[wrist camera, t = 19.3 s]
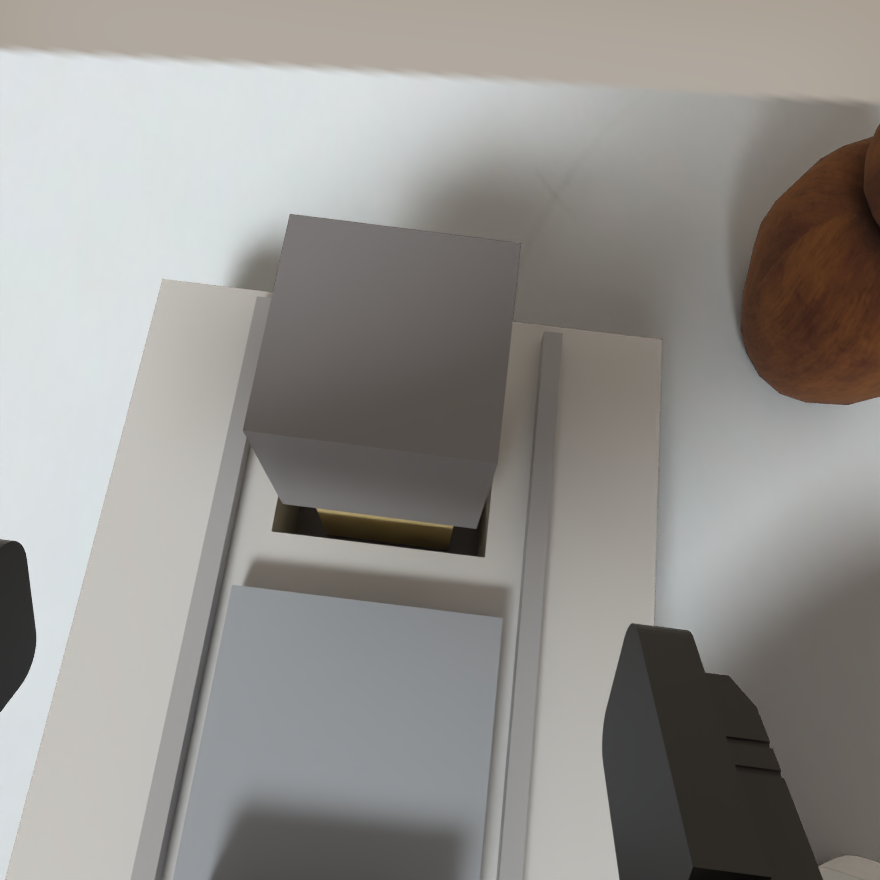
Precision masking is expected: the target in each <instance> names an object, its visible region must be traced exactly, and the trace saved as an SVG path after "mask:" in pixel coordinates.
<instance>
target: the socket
mask: <svg viewBox="0 0 880 880" xmlns="http://www.w3.org/2000/svg"><path fill="white" fill-rule="evenodd" d="M272 293H273V292H266V291H258V290H250V289H241V288H233V287H225V286H216V285H208V284H200V283H192V282H183V281H175V280H167V279H162V283H161V287H160V290H159V294H158V298H157V302H156V306H155V309H154V313H153V317H152V321H151V325H150V328H149V332H148V336H147V340H146V344H145V348H144V351H143V355H142V359H141V363H140V367H139V370H138V374H137V378H136V382H135V386H134V389H133V393H132V397H131V401H130V405H129V409H128V412H127V416H126V420H125V424H124V428H123V431H122V435H121V439H120V443H119V447H118V450H117V454H116V458H115V462H114V466H113V470H112V473H111V477H110V481H109V485H108V489H107V492H106V496H105V500H104V504H103V508H102V511H101V515H100V519H99V523H98V527H97V531H96V534H95V538H94V542H93V546H92V550H91V553H90V557H89V561H88V565H87V569H86V573H85V576H84V580H83V584H82V588H81V592H80V595H79V599H78V603H77V607H76V611H75V614H74V618H73V622H72V626H71V630H70V634H69V637H68V641H67V645H66V649H65V653H64V656H63V660H62V664H61V668H60V672H59V675H58V679H57V683H56V687H55V691H54V695H53V698H52V702H51V706H50V710H49V714H48V717H47V721H46V725H45V729H44V733H43V736H42V740H41V744H40V748H39V752H38V756H37V759H36V763H35V767H34V771H33V775H32V778H31V782H30V786H29V790H28V794H27V797H26V801H25V805H24V809H23V813H22V817H21V820H20V824H19V828H18V832H17V836H16V839H15V843H14V847H13V851H12V855H11V858H10V862H9V866H8V870H7V874H6V878H5V880H173V876H174V871H175V866H176V861H177V856H178V851H179V846H180V841H181V836H182V831H183V826H184V821H185V816H186V811H187V806H188V801H189V796H190V791H191V786H192V781H193V776H194V771H195V766H196V761H197V756H198V751H199V746H200V741H201V736H202V731H203V726H204V721H205V717H206V712H207V707H208V702H209V697H210V692H211V687H212V682H213V677H214V672H215V667H216V662H217V657H218V652H219V647H220V642H221V637H222V632H223V627H224V622H225V617H226V612H227V607H228V602H229V597H230V592H231V587H232V585H238V586H246V587H255V588H263V589H271V590H279V591H287V592H295V593H303V594H312V595H320V596H328V597H336V598H344V599H352V600H360V601H369V602H377V603H385V604H393V605H401V606H409V607H417V608H426V609H434V610H442V611H450V612H458V613H466V614H474V615H482V616H491V617H499V618H503V624H502V635H501V646H500V657H499V668H498V679H497V691H496V702H495V713H494V724H493V735H492V746H491V758H490V769H489V780H488V791H487V802H486V814H485V825H484V836H483V847H482V858H481V869H480V880H619V873H618V866H617V859H616V852H615V845H614V838H613V831H612V824H611V817H610V810H609V802H608V795H607V788H606V781H605V774H604V767H603V759H602V734H603V724H604V717H605V712H606V707H607V704H608V700H609V696H610V692H611V688H612V684H613V680H614V676H615V672H616V668H617V664H618V661H619V657H620V653H621V649H622V645H623V641H624V637H625V634H626V631H627V629H628V627H629V625H630V624H632V623H635V624H642V625H650V626H654V613H655V578H656V543H657V508H658V473H659V437H660V402H661V367H662V339H655V338H647V337H638V336H630V335H622V334H614V333H605V332H597V331H589V330H581V329H572V328H564V327H556V326H547V325H539V324H531V323H523V322H514V321H513V324H512V333H511V343H510V352H509V362H508V371H507V381H506V390H505V400H504V409H503V419H502V428H501V438H500V447H499V457H498V464H497V467H496V470H495V473H494V476H493V479H492V483H491V486H490V489H489V492H488V495H487V498H486V501H485V504H484V507H483V510H482V513H481V516H480V519H479V522H478V525H477V528H476V529H473V528H465V527H457V526H453V530H452V535H451V539H450V544H449V549H448V550H443V549H436V548H428V547H420V546H412V545H405V544H397V543H389V542H382V541H374V540H366V539H358V538H351V537H343V536H335V535H328V534H326V531H325V529H324V526H323V524H322V521H321V519H320V516H319V514H318V512H317V509H316V508H311V507H303V506H295V505H287V504H282V502H281V500H280V498H279V496H278V495H277V493H276V491H275V489H274V487H273V485H272V484H271V482H270V480H269V478H268V476H267V474H266V473H265V471H264V469H263V467H262V465H261V463H260V462H259V460H258V458H257V456H256V454H255V452H254V450H253V449H252V447H251V445H250V443H249V441H248V439H247V438H246V436H245V434H244V432H243V426H244V422H245V417H246V413H247V408H248V404H249V399H250V394H251V390H252V385H253V381H254V376H255V371H256V367H257V362H258V358H259V353H260V348H261V344H262V339H263V335H264V330H265V326H266V321H267V316H268V312H269V307H270V303H271V298H272Z"/></svg>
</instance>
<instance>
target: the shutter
mask: <svg viewBox="0 0 880 880" xmlns="http://www.w3.org/2000/svg"><path fill="white" fill-rule="evenodd" d="M502 624H503V618H499V617H491V616H482V615H474V614H466V613H458V612H450V611H442V610H434V609H426V608H417V607H409V606H401V605H393V604H385V603H377V602H369V601H360V600H352V599H344V598H336V597H328V596H320V595H312V594H303V593H295V592H287V591H279V590H271V589H263V588H255V587H246V586H238V585H232V587H231V592H230V597H229V602H228V607H227V612H226V617H225V622H224V627H223V632H222V637H221V642H220V647H219V652H218V657H217V662H216V667H215V672H214V677H213V682H212V687H211V692H210V697H209V702H208V707H207V712H206V717H205V721H204V726H203V731H202V736H201V741H200V746H199V751H198V756H197V761H196V766H195V771H194V776H193V781H192V786H191V791H190V796H189V801H188V806H187V811H186V816H185V821H184V826H183V831H182V836H181V841H180V846H179V851H178V856H177V861H176V866H175V871H174V876H173V880H480V869H481V858H482V847H483V836H484V825H485V814H486V802H487V791H488V780H489V769H490V758H491V746H492V735H493V724H494V713H495V702H496V691H497V679H498V668H499V657H500V646H501V635H502Z"/></svg>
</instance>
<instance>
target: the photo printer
mask: <svg viewBox="0 0 880 880" xmlns="http://www.w3.org/2000/svg"><path fill="white" fill-rule="evenodd" d="M818 868H819V870H820V873H821V875H822V878H823V880H880V863H879V862H875V861H872V860H869V859H866V858H862V857H858V856H854V855H845V856H841V857H838V858H835V859H833V860H830V861H828V862H826V863H824V864H822V865H820V866H818Z"/></svg>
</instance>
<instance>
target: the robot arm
mask: <svg viewBox="0 0 880 880" xmlns="http://www.w3.org/2000/svg"><path fill="white" fill-rule="evenodd" d="M35 648H36V629H35V621H34V613H33V605H32V597H31V589H30V581H29V573H28V565H27V558H26V553H25V550H24V548H23V546H22V545H21V544H20V543H19V542H17V541H10V540H2V539H0V712H1V711H2V709H3V708H4V707H5V705H6V704H7V703H8V702H9V700H10V699H11V698H12V696H13V695H14V694H15V692H16V691H17V690H18V688H19V687H20V686H21V684H22V683H23V681H24V680H25V678H26V676H27V674H28V672H29V670H30V667H31V664H32V661H33V658H34V653H35ZM769 743H770V741H769V738H768V736H767V733H766V731H765V728H764V725H763V723H762V720H761V718H760V715H759V713H758V710H757V707H756V706H755V705H754V704H753V703H752V702H751V701H750V699H749V698H748V697H747V696H746V695H745V694H744V693H743V692H742V690H741V689H740V688H739V687H738V686H737V685H736V684H735V682H734V681H733V680H732V679H731V678H730V677H729V676H726V675H718V674H710V673H705V671H704V668H703V665H702V662H701V659H700V656H699V653H698V650H697V647H696V644H695V641H694V638H693V635H692V634H691V632H690V631H688V630H681V629H673V628H665V627H658V626H650V625H642V624H635V623H632V624H630V625H629V627H628V629H627V631H626V634H625V637H624V641H623V645H622V649H621V653H620V657H619V661H618V664H617V668H616V672H615V676H614V680H613V684H612V688H611V692H610V696H609V700H608V704H607V707H606V712H605V717H604V724H603V734H602V759H603V767H604V774H605V781H606V788H607V795H608V802H609V810H610V817H611V824H612V831H613V838H614V845H615V852H616V859H617V866H618V873H619V880H823V878H822V875H821V873H820V870H819V868H818V865H817V862H816V860H815V857H814V855H813V852H812V850H811V847H810V844H809V842H808V839H807V837H806V834H805V831H804V829H803V826H802V824H801V821H800V819H799V816H798V813H797V811H796V808H795V806H794V803H793V800H792V798H791V795H790V793H789V790H788V788H787V785H786V782H785V780H784V778H781V775H780V773H781V769H780V767H779V764H778V762H777V759H776V757H775V754H774V751H773V749H771V748H770V747H769Z"/></svg>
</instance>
